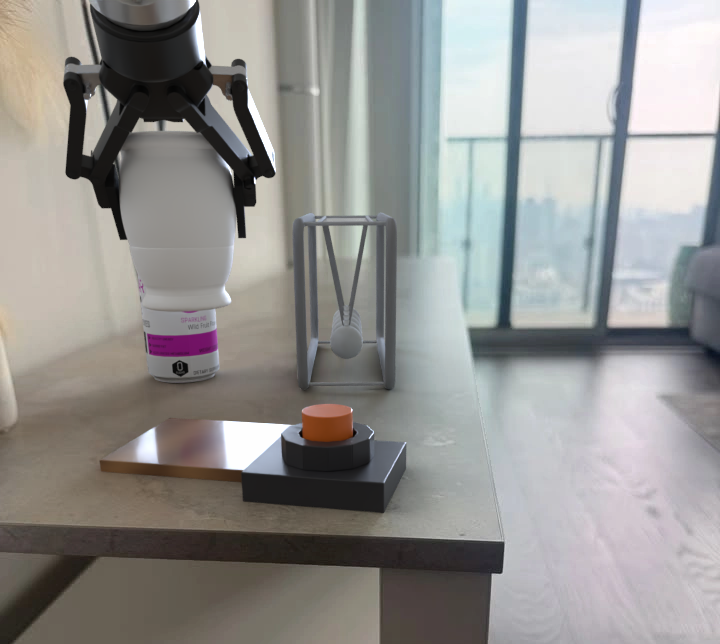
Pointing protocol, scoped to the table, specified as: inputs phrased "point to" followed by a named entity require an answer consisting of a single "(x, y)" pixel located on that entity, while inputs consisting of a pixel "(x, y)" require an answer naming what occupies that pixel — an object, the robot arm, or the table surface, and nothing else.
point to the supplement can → (180, 343)
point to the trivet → (194, 449)
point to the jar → (178, 218)
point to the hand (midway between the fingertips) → (183, 228)
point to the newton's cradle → (346, 319)
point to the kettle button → (327, 422)
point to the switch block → (326, 471)
